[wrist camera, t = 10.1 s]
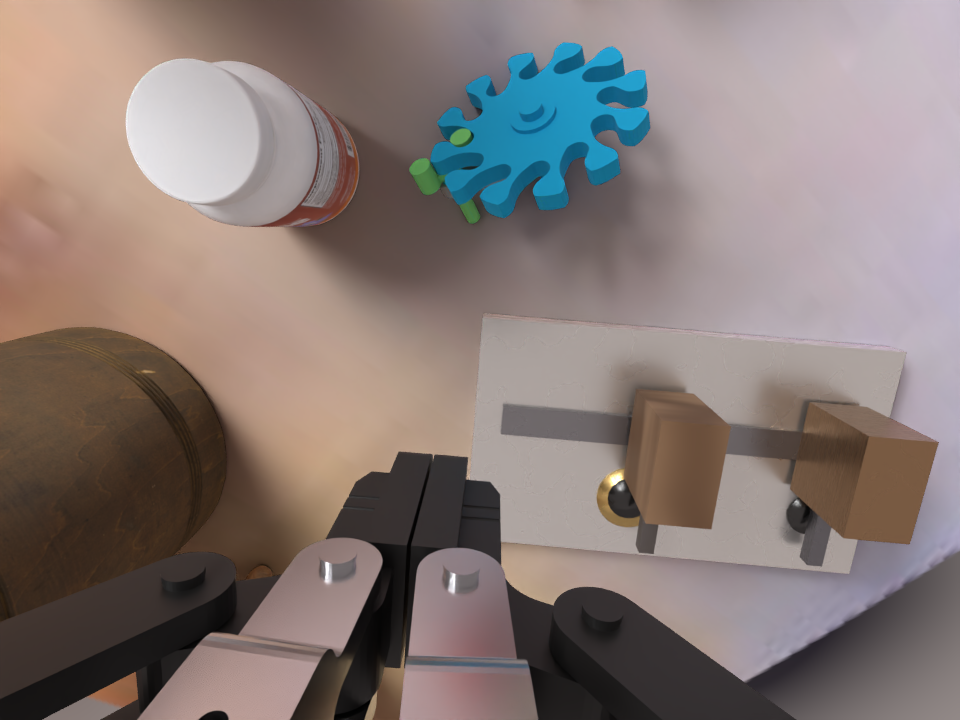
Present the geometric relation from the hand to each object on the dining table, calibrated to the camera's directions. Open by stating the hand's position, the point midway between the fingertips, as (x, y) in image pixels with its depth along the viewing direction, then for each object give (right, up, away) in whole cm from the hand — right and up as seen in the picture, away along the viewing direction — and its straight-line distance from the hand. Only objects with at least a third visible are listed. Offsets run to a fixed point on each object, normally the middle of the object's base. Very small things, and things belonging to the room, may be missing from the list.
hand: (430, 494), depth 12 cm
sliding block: (+10, -3, +18) cm, 21 cm away
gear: (+3, +14, +17) cm, 22 cm away
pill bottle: (-8, +13, +18) cm, 24 cm away
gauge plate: (+12, -2, +20) cm, 23 cm away
